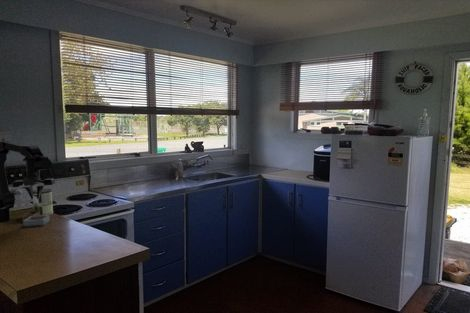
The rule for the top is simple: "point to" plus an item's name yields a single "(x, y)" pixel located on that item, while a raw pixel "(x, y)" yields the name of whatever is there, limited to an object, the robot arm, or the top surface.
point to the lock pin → (35, 200)
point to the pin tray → (36, 220)
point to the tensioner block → (31, 213)
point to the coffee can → (44, 202)
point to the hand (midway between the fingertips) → (35, 198)
